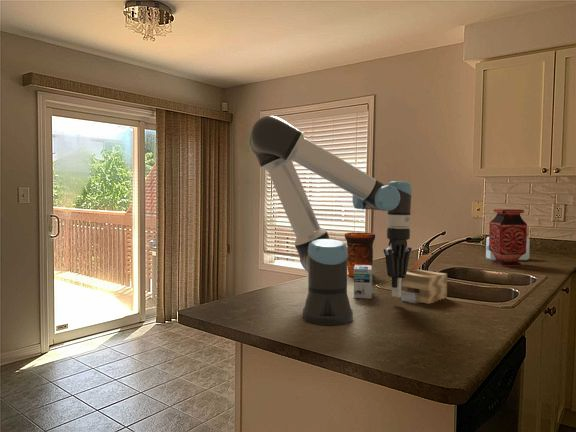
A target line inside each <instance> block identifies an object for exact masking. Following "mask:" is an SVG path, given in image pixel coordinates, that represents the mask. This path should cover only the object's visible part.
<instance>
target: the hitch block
mask: <svg viewBox="0 0 576 432" xmlns="http://www.w3.org/2000/svg"><path fill="white" fill-rule="evenodd" d="M404 276H405V278H402V286H401V291H404V290H409V291H414V292H415V291H419V290H420V302H419V303H422V304H423V303H424V304H427V305H429V304H433V303H436V302H439V301H438V300H440V301H442V300H441V299H443V298H447V299H448V273H446V272H445V273H444V272H437V271H430V270H424V269H416V270H411V271H407V273H406V275H404ZM398 299H401V297H399V298H398ZM443 300H444V299H443ZM435 301H436V302H435Z"/></svg>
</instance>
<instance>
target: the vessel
mask: <svg viewBox="0 0 576 432" xmlns="http://www.w3.org/2000/svg"><path fill="white" fill-rule="evenodd" d="M344 239H345V240H346V246H347V253H348V257H347V276H350V277H354V266H355V265H372V266H373V265H374V264H373V260H374V257H373V256H374V255H373V254H374V253H373V251H374V249H373V245H374V241H375V240H376V234H375V233H374V232H357V231H356V232H354V231H351V232H345V233H344ZM373 277H374V274H372V278H373Z"/></svg>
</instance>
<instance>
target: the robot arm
mask: <svg viewBox="0 0 576 432" xmlns="http://www.w3.org/2000/svg"><path fill="white" fill-rule="evenodd" d="M249 146H250V149H251V151H252V152H253V153H254V154H255V156H256V159H257V161H258V163H259V166H260V168H261V169H262V170H265V171H267V172H268V175H269V177H270V180H271V182H272V184H273V186H274V189H275V191H276V193H277V196H278V198H279V200H280V203H281V205H282V208H283V210H284V213H285V214H286V217H287V219H288V222H289V223H290V226H291V228H292V230H293V231H292V232H293V233H294V235H295V237H296V238H295V241H294V246H295V247H294V248H295V249H296V252H297V254H298V257H299V261H300V264H301V266H302V268H303V269H304V271H306V272H307V274H308V275H307V277H308V278H307V279H308V280H307V281H308V282H307V283H308V285H307V286H308V292H307V297H306V300H305V305H304V306H303V309H302V320H303V321H305V322H307V323H309V324H314V325H321V326H339V325H344V324H348V323H351V322H352V321H353V319H354V318H353V317H354V315H353V313H354V312H353V309H352V308H351V303H350V299H349V296H348V275H347V274H348V267H347V257H348V253H347V243H346V244H345V242H343V241H341V240H337V239H332V238H331V237H330V235H329V234H328V230H327V229H324V228H321V226H320V223H319V222H318V219H317V217H316V215H315V212H314V209H313V208H312V205H311V203H310V200H309V197H308V195H307V193H306V191H305V188H304V186H303V183H302V182H301V180H300V176H299V174H298V172H297V170H296V166H295V164H294V163H293V162H295V163H296V164H298V165H300V166H302V167H303V168H305V169H307V170H309V171H311V172H313V173H314V174H316V175H318V176H320V177H321V178H323V179H325V180H327V181H328V182H329V183H332V184H334V185H335V186H337V187H339V188H340V189H341V190H344V191H346V192H347V193H349V194H350V195H352V205H353V208H355V210H362V211H364V210H372V211H374V210H375V211H382V212H387V216H386V217H387V218H386V221H387V222H386V226H387V228H386V238H387V239H388V247H387V248H383V253H384V255H385V264H386V265H385V266H386V274H387V276H388V277H389V278H391V297H394V298H398V299H400V298H399V297H401V286H402V278H405V276H404V275H406V273H407V272H408V271H407V269H408V268H409V267H408V266H409V260H410V254H411V252H412V250H413V248H412V247H411V246H410V247H409V246H408V241H407V240H409V239H410V238H411V229H410V226H411V207H412V195H413V194H412V184H411V183H410V182H408V181H389V182H388V184H385V183H383V182H381V181H379V180H378V179H376V178H374V177H372V176H371V175H370V174H367V173H366V172H364V171H363V170H361V169H359V168H358V167H355V166H354V165H352V164H351V163H349V162H348V161H345V160H344V159H343V158H340V157H339V156H337V155H336V154H333V153H332V152H330V151H328V150H327V149H325V148H323V147H322V146H320V145H318V144H316V143H315V142H313V141H311V140H309V139H308V138H307V137H305V136H304V132H303V131H301V130H300V129H298V128H296V127H294V126H293V125H292V124H290V123H289V122H287V121H286V120H284V119H282V118H280V117H279V116H274V115H265V116H262V117H260V118H258V120H256V121H255V122H254V123H253V126H252V128H251V130H250V136H249Z"/></svg>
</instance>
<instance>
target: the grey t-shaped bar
mask: <svg viewBox="0 0 576 432" xmlns="http://www.w3.org/2000/svg"><path fill="white" fill-rule="evenodd" d="M400 301H401V302H406V303H410V304H419V303H421V302H420V290H419V291H415V292H414V291H409V290H404V291H401V298H400Z"/></svg>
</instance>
